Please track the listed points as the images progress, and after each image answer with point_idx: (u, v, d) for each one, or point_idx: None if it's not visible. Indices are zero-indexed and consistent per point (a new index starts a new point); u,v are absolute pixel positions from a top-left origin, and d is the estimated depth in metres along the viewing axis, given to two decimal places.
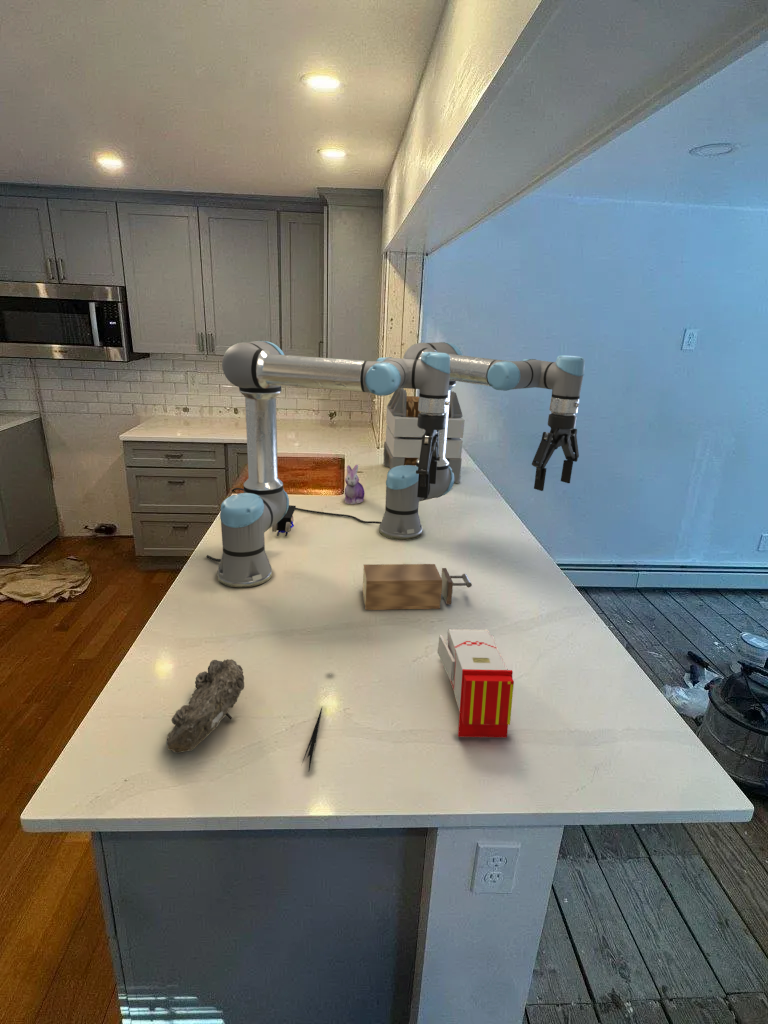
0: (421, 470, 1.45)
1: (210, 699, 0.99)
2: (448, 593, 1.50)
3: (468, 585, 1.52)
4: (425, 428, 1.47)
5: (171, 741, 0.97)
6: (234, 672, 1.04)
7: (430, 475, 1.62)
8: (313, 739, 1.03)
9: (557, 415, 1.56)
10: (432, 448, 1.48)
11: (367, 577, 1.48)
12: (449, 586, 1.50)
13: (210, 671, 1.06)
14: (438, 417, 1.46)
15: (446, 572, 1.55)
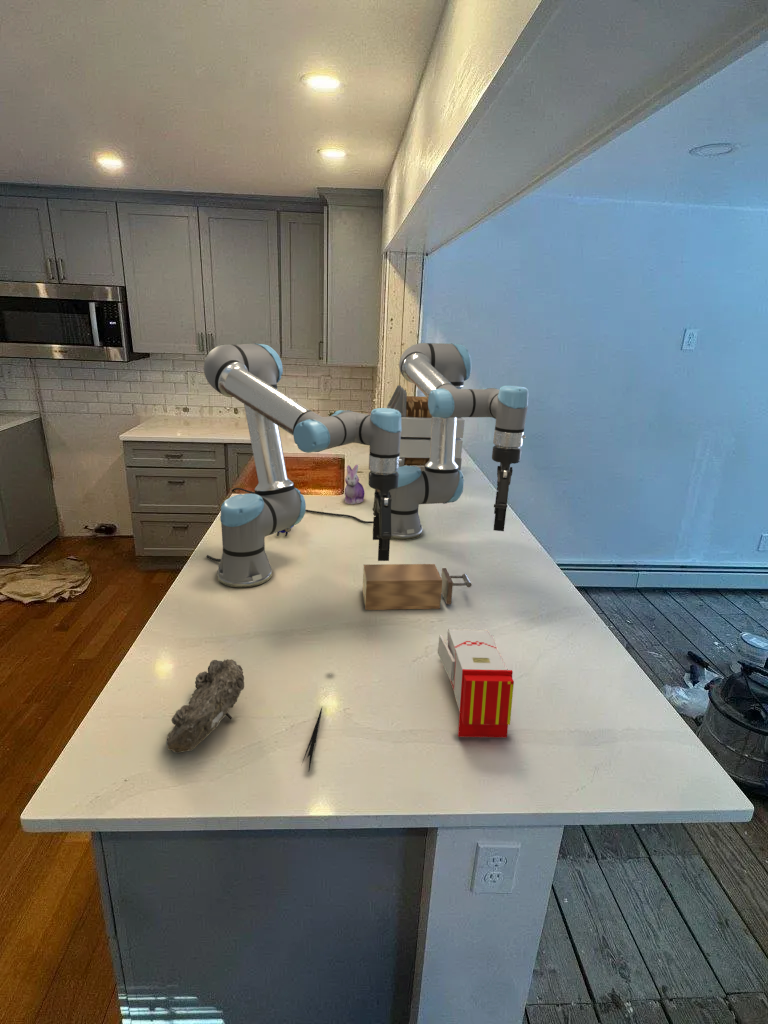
0: (385, 535, 1.37)
1: (210, 699, 0.99)
2: (448, 593, 1.50)
3: (468, 585, 1.52)
4: (381, 489, 1.39)
5: (171, 741, 0.97)
6: (234, 672, 1.04)
7: (377, 531, 1.54)
8: (313, 739, 1.03)
9: (509, 450, 1.46)
10: None
11: (367, 577, 1.48)
12: (449, 586, 1.50)
13: (210, 671, 1.06)
14: (393, 476, 1.39)
15: (446, 572, 1.55)
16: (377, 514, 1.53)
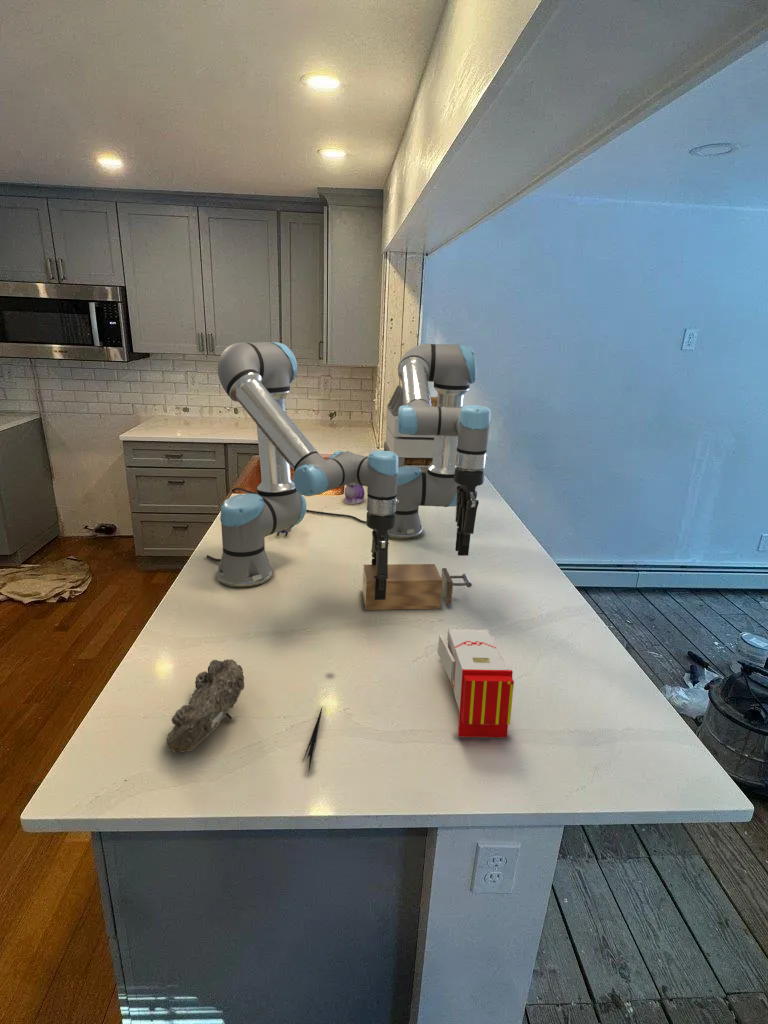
0: (381, 576, 1.42)
1: (210, 699, 0.99)
2: (448, 593, 1.50)
3: (468, 585, 1.52)
4: (378, 529, 1.43)
5: (171, 741, 0.97)
6: (234, 672, 1.04)
7: None
8: (313, 739, 1.03)
9: (474, 472, 1.41)
10: None
11: (367, 577, 1.48)
12: (449, 586, 1.50)
13: (210, 671, 1.06)
14: (390, 517, 1.43)
15: (446, 572, 1.55)
16: (375, 556, 1.55)
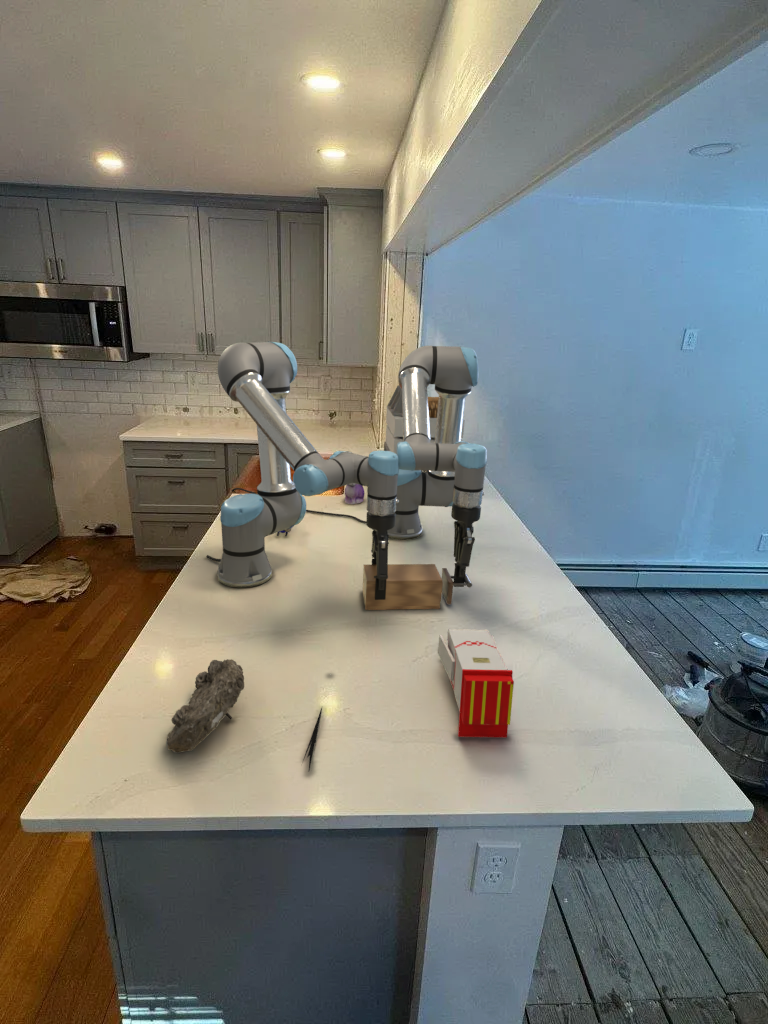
0: (381, 576, 1.42)
1: (210, 699, 0.99)
2: (448, 593, 1.50)
3: (468, 585, 1.52)
4: (378, 529, 1.43)
5: (171, 741, 0.97)
6: (234, 672, 1.04)
7: None
8: (313, 739, 1.03)
9: (471, 509, 1.44)
10: None
11: (367, 577, 1.48)
12: (449, 586, 1.50)
13: (210, 671, 1.06)
14: (390, 517, 1.43)
15: (447, 572, 1.55)
16: (375, 556, 1.55)
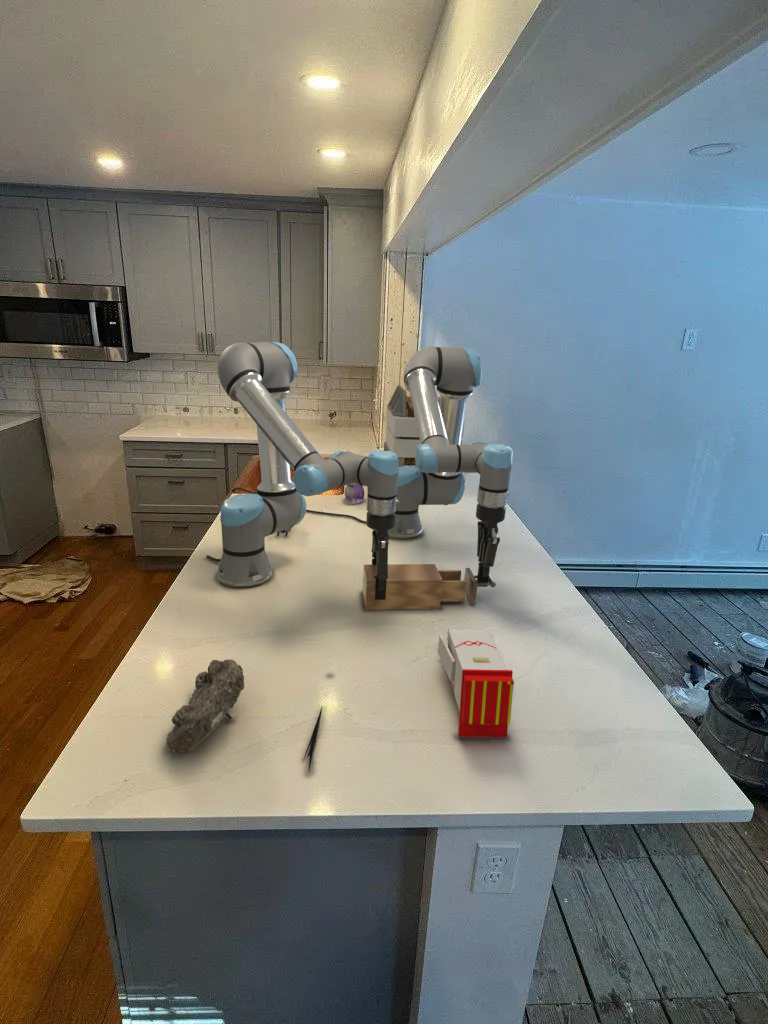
0: (381, 576, 1.42)
1: (210, 699, 0.99)
2: (472, 593, 1.51)
3: (492, 585, 1.53)
4: (378, 529, 1.43)
5: (171, 741, 0.97)
6: (234, 672, 1.04)
7: None
8: (313, 739, 1.03)
9: (496, 509, 1.45)
10: None
11: (367, 577, 1.48)
12: (474, 586, 1.50)
13: (210, 671, 1.06)
14: (391, 517, 1.43)
15: (470, 572, 1.55)
16: (375, 556, 1.55)
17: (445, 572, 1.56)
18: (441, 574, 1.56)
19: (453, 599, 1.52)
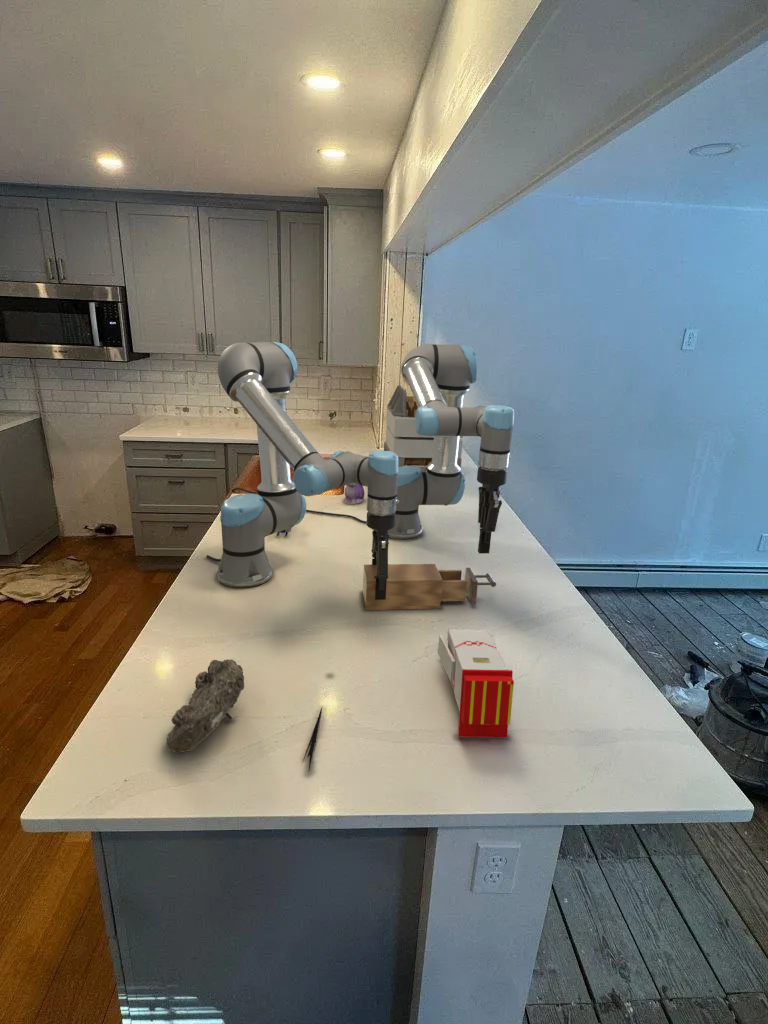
0: (381, 576, 1.42)
1: (210, 699, 0.99)
2: (473, 592, 1.51)
3: (492, 584, 1.53)
4: (378, 529, 1.43)
5: (171, 741, 0.97)
6: (234, 672, 1.04)
7: None
8: (313, 739, 1.03)
9: (498, 472, 1.41)
10: None
11: (367, 577, 1.48)
12: (474, 585, 1.50)
13: (210, 671, 1.06)
14: (391, 517, 1.43)
15: (470, 572, 1.55)
16: (376, 556, 1.55)
17: (445, 572, 1.56)
18: (441, 574, 1.56)
19: (453, 599, 1.52)
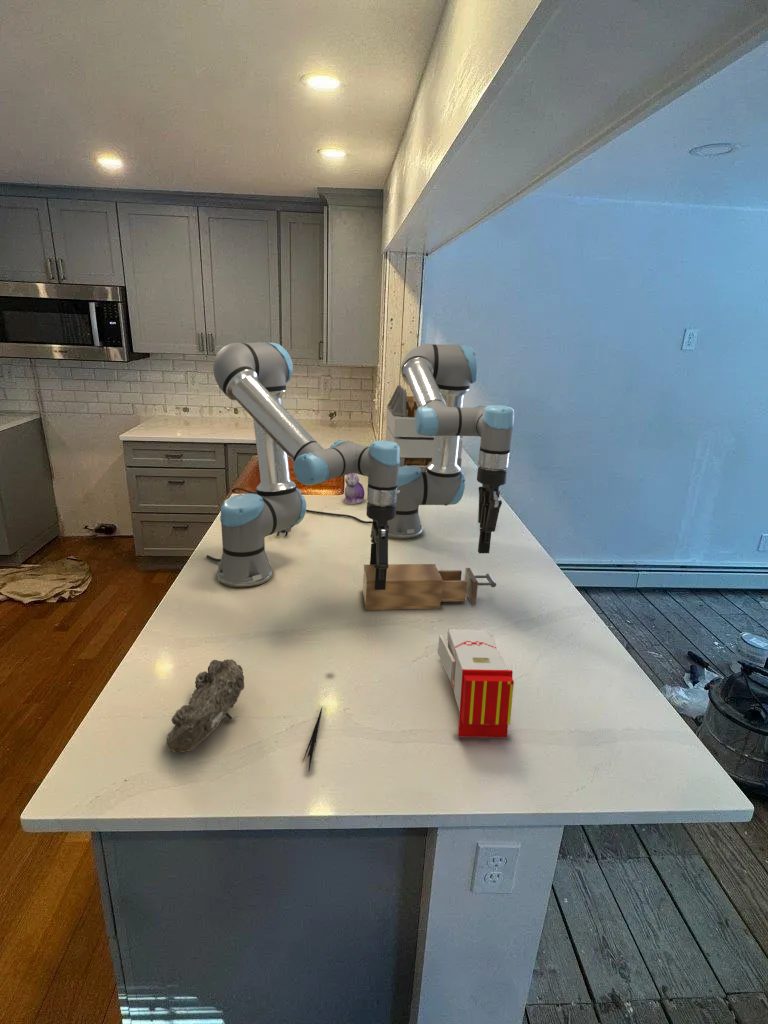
0: (382, 565, 1.39)
1: (210, 699, 0.99)
2: (473, 593, 1.51)
3: (492, 585, 1.53)
4: (378, 520, 1.42)
5: (171, 741, 0.97)
6: (234, 672, 1.04)
7: (375, 558, 1.57)
8: (313, 739, 1.03)
9: (498, 472, 1.41)
10: None
11: (367, 577, 1.48)
12: (474, 586, 1.51)
13: (210, 671, 1.06)
14: (391, 508, 1.42)
15: (470, 572, 1.55)
16: (375, 541, 1.56)
17: (445, 572, 1.56)
18: (441, 574, 1.56)
19: (453, 599, 1.52)
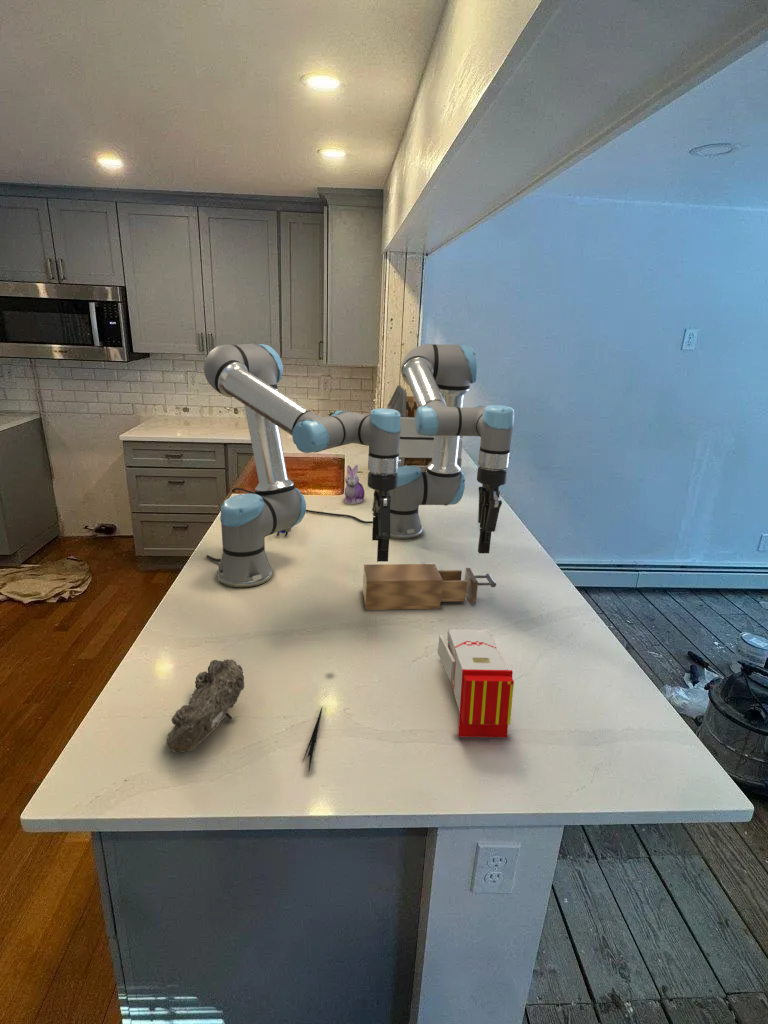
0: (384, 535, 1.37)
1: (210, 699, 0.99)
2: (473, 593, 1.51)
3: (492, 585, 1.53)
4: (380, 489, 1.39)
5: (171, 741, 0.97)
6: (234, 672, 1.04)
7: (377, 532, 1.54)
8: (313, 739, 1.03)
9: (498, 472, 1.41)
10: None
11: (367, 577, 1.48)
12: (474, 586, 1.51)
13: (210, 671, 1.06)
14: (392, 477, 1.39)
15: (470, 572, 1.55)
16: (376, 514, 1.53)
17: (445, 572, 1.56)
18: (441, 574, 1.56)
19: (453, 599, 1.52)
